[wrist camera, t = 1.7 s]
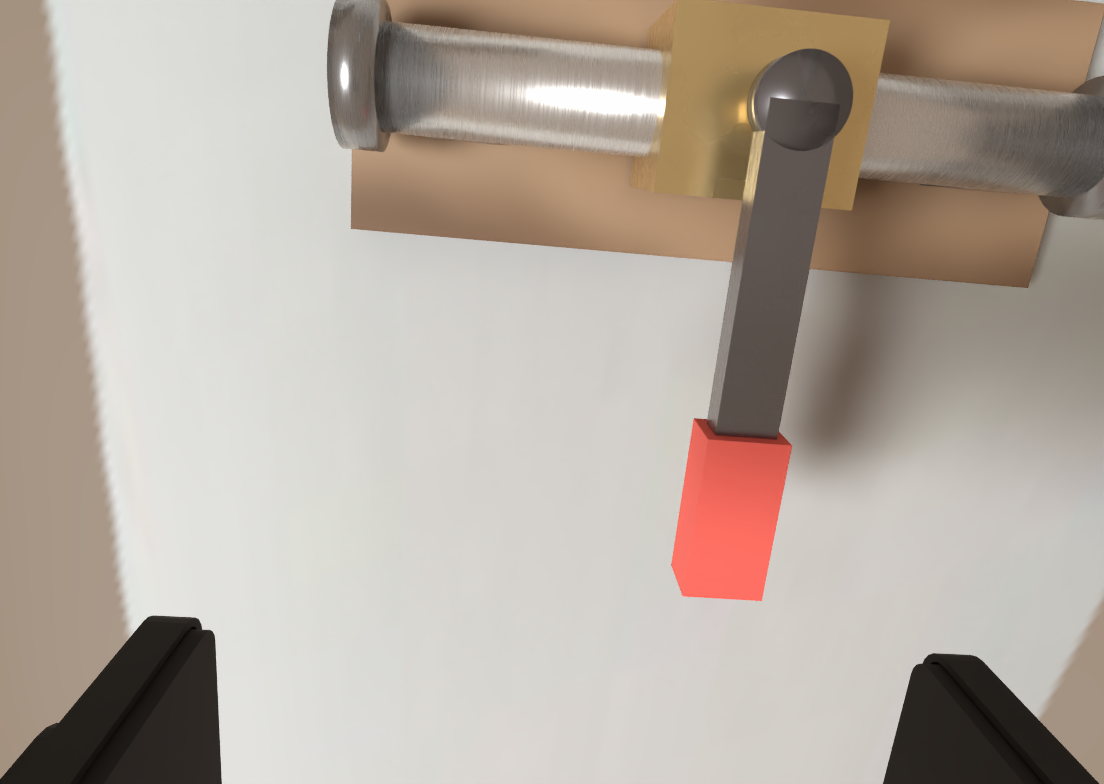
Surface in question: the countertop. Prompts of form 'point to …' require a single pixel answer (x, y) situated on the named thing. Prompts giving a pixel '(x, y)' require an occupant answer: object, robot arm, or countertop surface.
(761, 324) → the valve lever
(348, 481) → the countertop surface
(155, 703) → the robot arm
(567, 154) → the valve board
